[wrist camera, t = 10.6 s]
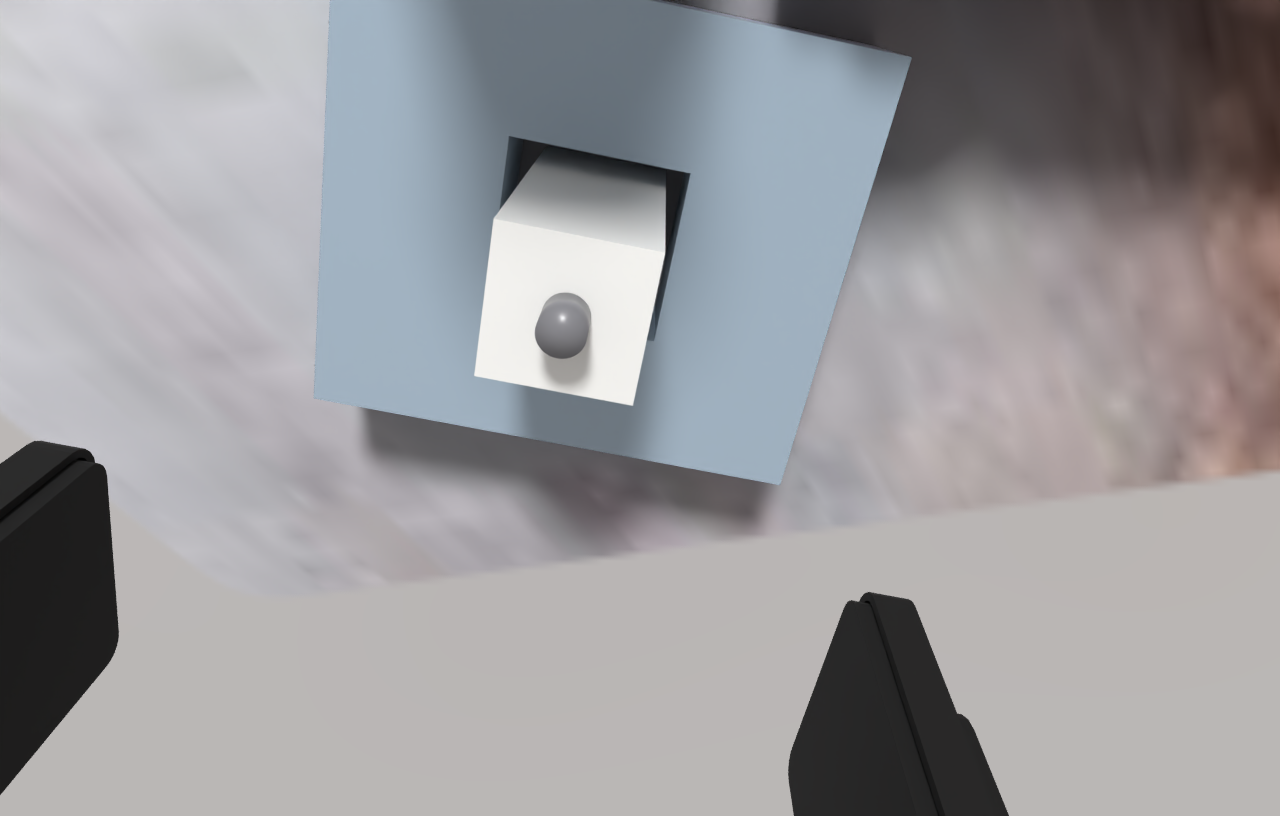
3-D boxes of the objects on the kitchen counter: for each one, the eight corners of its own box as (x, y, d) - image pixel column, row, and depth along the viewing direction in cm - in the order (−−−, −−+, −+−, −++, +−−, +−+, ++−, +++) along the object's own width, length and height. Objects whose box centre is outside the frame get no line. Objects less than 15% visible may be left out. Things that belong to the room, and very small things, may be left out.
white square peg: (665, 169, 30) (665, 267, 19) (642, 283, 31) (631, 427, 21) (546, 145, 29) (483, 232, 19) (530, 261, 31) (464, 396, 21)
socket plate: (877, 46, 29) (911, 57, 25) (766, 426, 35) (779, 485, 31) (381, -62, 28) (332, -69, 24) (356, 348, 34) (313, 398, 30)
